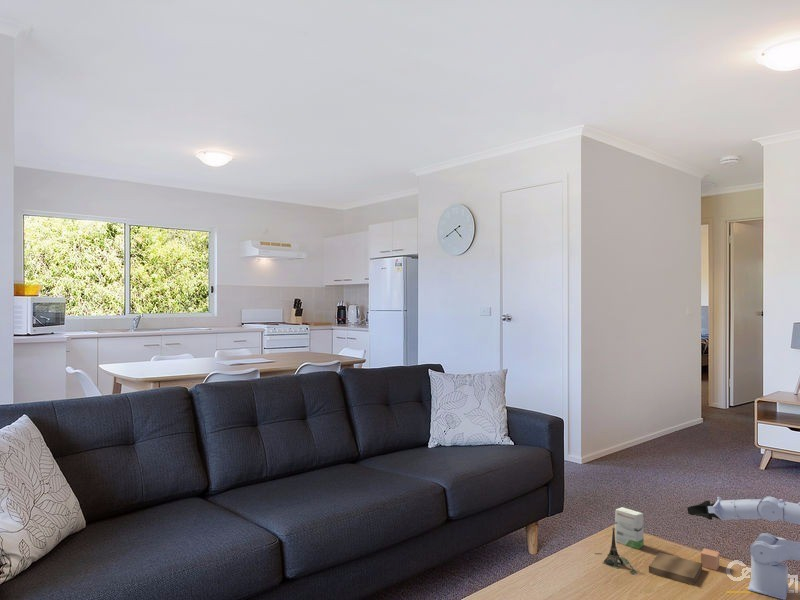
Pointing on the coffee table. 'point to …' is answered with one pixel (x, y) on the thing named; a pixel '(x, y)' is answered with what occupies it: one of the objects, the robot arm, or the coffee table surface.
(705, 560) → the terracotta block
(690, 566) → the walnut base
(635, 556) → the coffee table surface
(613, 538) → the eiffel tower figurine
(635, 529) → the ink box
